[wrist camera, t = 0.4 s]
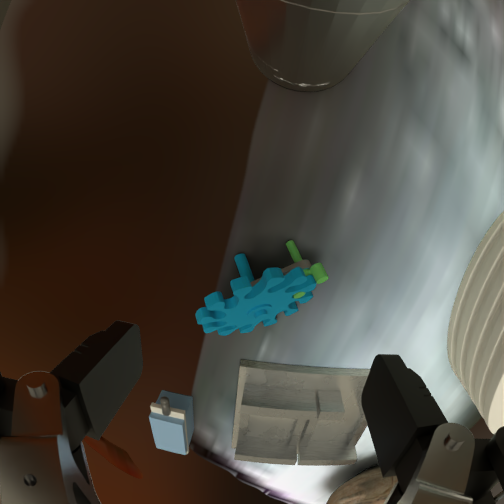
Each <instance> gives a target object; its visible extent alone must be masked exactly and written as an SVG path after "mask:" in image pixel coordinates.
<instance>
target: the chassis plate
mask: <svg viewBox="0 0 504 504" xmlns="http://www.w3.org/2000/svg"><path fill="white" fill-rule="evenodd" d="M369 372H370V369H340V368H322V367H307V366H295V365H285V364H275V363H266V362H257V361H250V360H242V359H241V364H240V371H239V380H238V390H237V400H236V409H235V419H234V429H233V439H232V448H236V452H235V459H234V460H241V461H250V462H259V463H270V464H285V465H295V463H296V461H297V454H298V465H350V464H354V463H355V462H356V460H357V454H356V449H355V445H356V443H357V442H358V440H359V439H360V437H361V435H362V433H363V432H364V430H365V428H366V427H367V425H368V424H367V421H366V418H365V415H364V412H363V408H362V404H361V396H362V391H363V388H364V385H365V383H366V380H367V377H368V375H369Z"/></svg>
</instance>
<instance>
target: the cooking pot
mask: <svg viewBox="0 0 504 504" xmlns="http://www.w3.org/2000/svg"><path fill="white" fill-rule="evenodd" d="M397 481H398V479H397V476H391V477H384V478H383V476H382V472H381V469H380V465H379V466H375V467H372V468H369V469H367V470H365V471H363V472H361V473H360V474H359V475H357V476H355V477H354V478H352V479H350V480H349V481H347V482H346V483H344V484H343V485H341V486H340V487H339V488H338V489H337V490H336V491H335V492H334V493H333V494H332V495H331V496H330V498H329V500H328V501H327V503H326V504H384V502H385V500H386V499H387V497H388V495H389V494H390V492H391V490H392V488H393V486H394V485H395V484H396V482H397Z"/></svg>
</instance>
